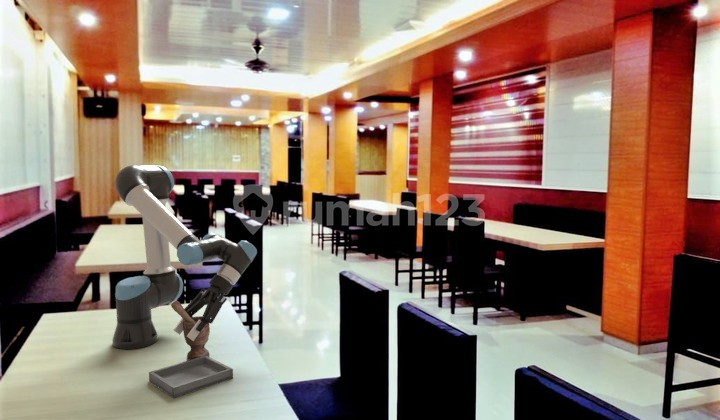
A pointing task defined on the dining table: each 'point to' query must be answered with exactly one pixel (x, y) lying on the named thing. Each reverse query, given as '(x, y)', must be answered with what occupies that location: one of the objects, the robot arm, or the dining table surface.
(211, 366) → the tray
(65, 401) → the dining table surface
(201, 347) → the mortar and pestle
